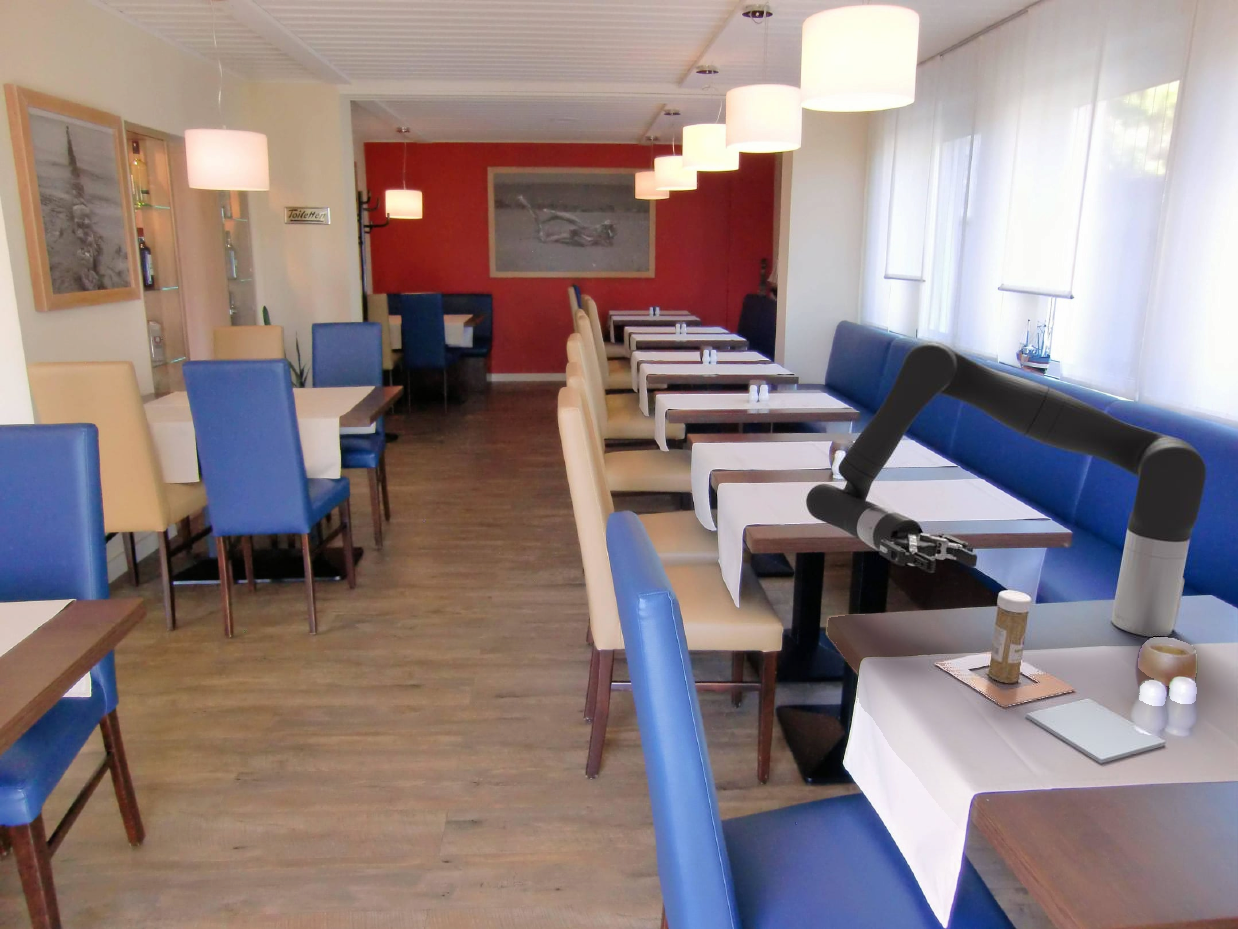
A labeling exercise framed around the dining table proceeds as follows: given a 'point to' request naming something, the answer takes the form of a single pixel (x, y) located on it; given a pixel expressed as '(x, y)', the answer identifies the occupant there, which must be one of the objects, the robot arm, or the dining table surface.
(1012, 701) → the peach square frame
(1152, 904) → the dining table surface
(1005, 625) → the sprinkles bottle
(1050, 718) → the pad
